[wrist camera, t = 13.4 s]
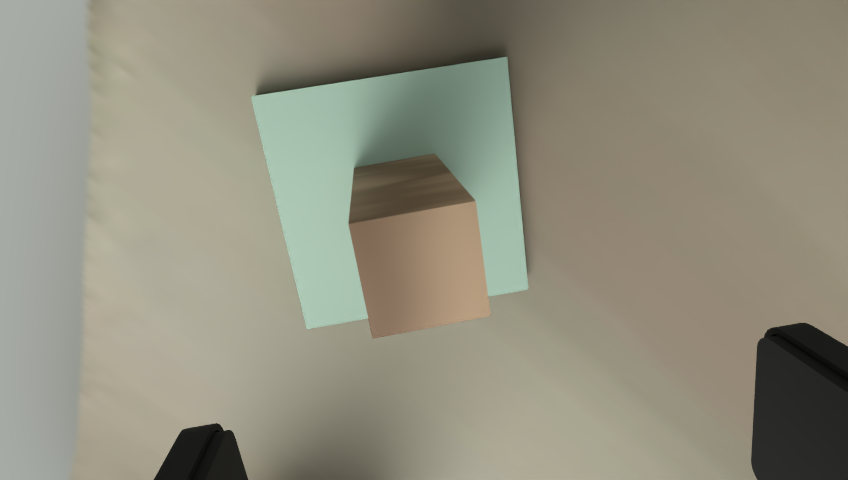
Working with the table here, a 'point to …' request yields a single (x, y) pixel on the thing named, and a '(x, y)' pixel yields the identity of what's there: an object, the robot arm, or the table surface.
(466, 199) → the walnut peg
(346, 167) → the green pad
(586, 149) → the table surface
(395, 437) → the table surface
